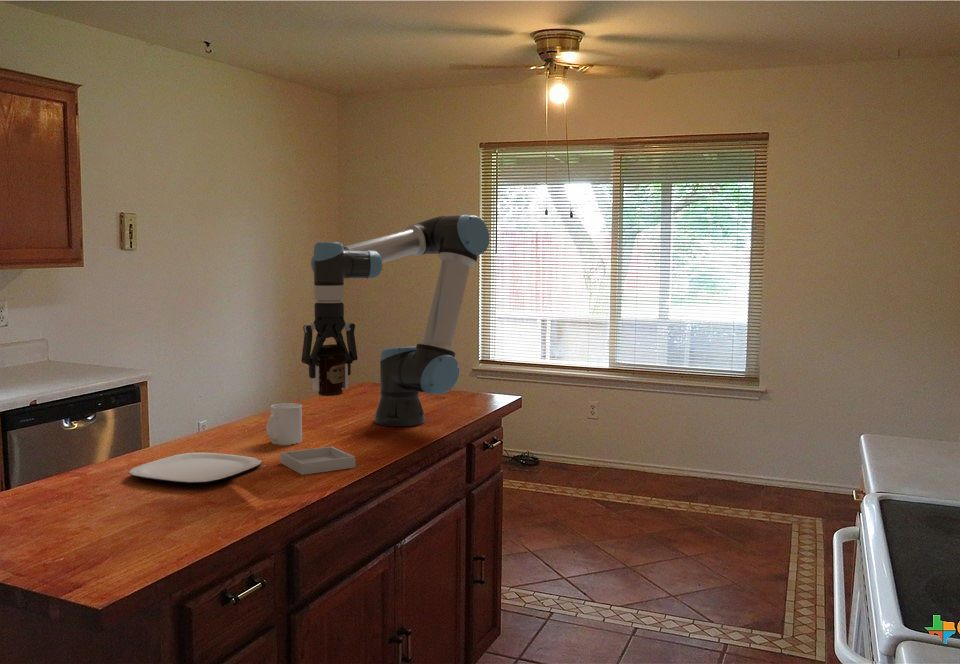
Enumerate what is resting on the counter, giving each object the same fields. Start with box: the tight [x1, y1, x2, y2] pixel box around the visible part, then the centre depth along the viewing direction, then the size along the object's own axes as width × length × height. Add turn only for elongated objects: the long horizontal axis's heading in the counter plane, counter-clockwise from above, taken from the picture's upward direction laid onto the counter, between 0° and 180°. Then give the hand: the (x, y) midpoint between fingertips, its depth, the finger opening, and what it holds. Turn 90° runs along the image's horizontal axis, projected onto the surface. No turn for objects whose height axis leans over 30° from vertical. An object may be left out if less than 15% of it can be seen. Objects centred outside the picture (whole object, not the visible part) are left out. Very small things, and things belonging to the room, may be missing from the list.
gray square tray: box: [280, 445, 356, 476], centre depth 201 cm, size 14×14×3 cm
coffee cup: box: [316, 343, 346, 397], centre depth 215 cm, size 9×8×13 cm
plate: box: [128, 451, 263, 484], centre depth 194 cm, size 25×25×2 cm
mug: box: [266, 402, 303, 446], centre depth 223 cm, size 12×8×10 cm
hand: (330, 389), depth 215 cm, fingers closed on coffee cup, 7 cm apart
